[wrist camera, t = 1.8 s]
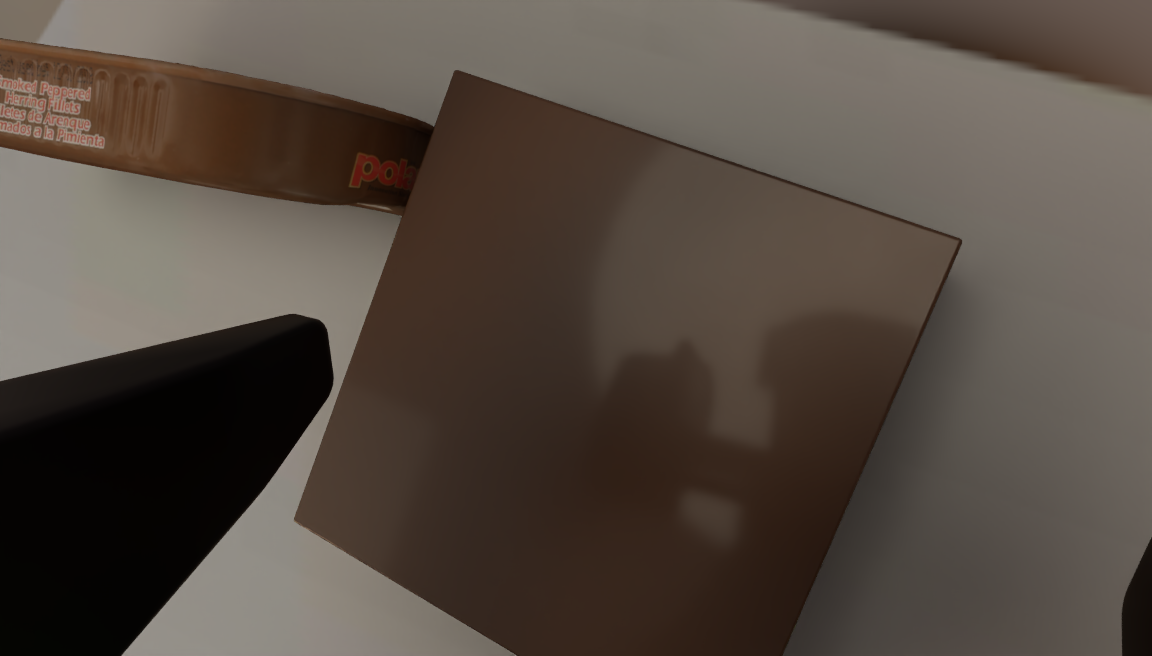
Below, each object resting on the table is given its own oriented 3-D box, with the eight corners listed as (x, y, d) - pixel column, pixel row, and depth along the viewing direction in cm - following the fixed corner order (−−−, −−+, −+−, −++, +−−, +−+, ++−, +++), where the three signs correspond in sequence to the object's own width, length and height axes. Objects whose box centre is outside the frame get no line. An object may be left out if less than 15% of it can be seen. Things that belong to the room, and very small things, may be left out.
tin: (492, 143, 25) (304, 49, 17) (470, 249, 25) (274, 203, 18) (119, 84, 31) (-153, -9, 23) (103, 172, 31) (-172, 110, 23)
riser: (952, 261, 21) (963, 239, 17) (761, 701, 22) (726, 783, 18) (530, 116, 25) (454, 68, 21) (390, 494, 26) (291, 521, 22)
